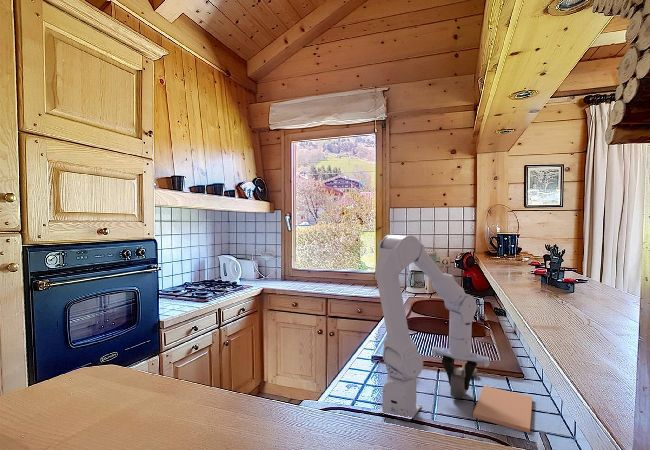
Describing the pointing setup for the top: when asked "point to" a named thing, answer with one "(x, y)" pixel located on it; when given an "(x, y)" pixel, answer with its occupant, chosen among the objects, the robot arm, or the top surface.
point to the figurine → (473, 372)
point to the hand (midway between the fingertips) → (459, 386)
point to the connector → (458, 383)
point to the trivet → (504, 408)
